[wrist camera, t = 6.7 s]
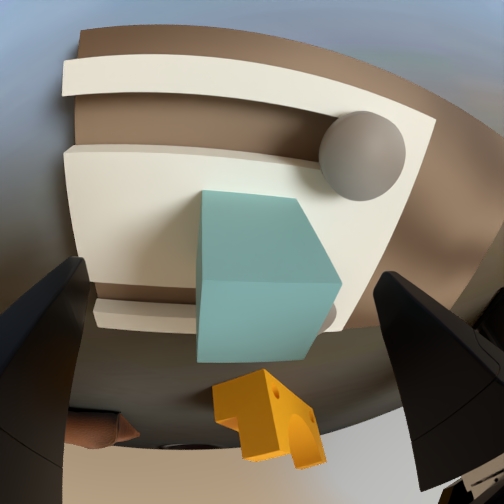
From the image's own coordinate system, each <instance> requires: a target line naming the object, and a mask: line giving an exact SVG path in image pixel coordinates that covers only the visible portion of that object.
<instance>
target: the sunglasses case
mask: <svg viewBox="0 0 504 504" xmlns="http://www.w3.org/2000/svg"><path fill="white" fill-rule="evenodd" d="M120 413H121V412H119V413H117V415H116V414H114V413H99V412H78V413H76V412H73V411H68V414H67V422H66V431H65V441H64V443H69V444H74V445H78V446H82V447H85V448H88V449H99V448H104V447H108V446H112V445H114V443H115V442H121V441H126V440H129V439H132V438H136V437H138V436H140V433H139V432H137V431H136V430H135V429H134V428H133V427H132V425H130V423H129V422H128V421H127V420H126V419H125V418H124V417H123V416H122V415H121V414H120Z"/></svg>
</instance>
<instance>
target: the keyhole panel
mask: <svg viewBox="0 0 504 504" xmlns="http://www.w3.org/2000/svg"><path fill="white" fill-rule="evenodd" d="M114 92H166V93H187V94H201V95H212V96H222V97H231V98H239V99H247V100H254V101H260V102H267V103H273V104H278V105H284V106H289V107H294V108H299V109H304V110H309V111H313V112H318V113H322V114H326V115H330V116H334V117H338V118H340V117H342V116H343V115H345V114H348V113H351V112H355V111H369V112H373V113H375V114H378V115H380V116H382V117H384V118H386V119H388V120H390V121H391V122H392V123H393V124H395V126H396V127H397V128H398V129H399V131H400V132H401V134H402V136H403V139H404V142H405V148H406V157H405V163H404V167H403V170H402V172H401V174H400V176H399V178H398V180H397V181H396V182H395V184H394V185H393V186H392V187H391V188H390V189H389V190H388V191H387V192H385V193H384V194H382V195H381V196H379V197H377V198H375V199H372V200H368V201H352V200H348V199H346V198H344V197H342V196H340V195H339V194H338V193H336V191H335V190H334V189H333V188H332V187H331V186H330V185H329V184H328V182H327V181H326V180H325V178H324V176H323V175H322V172H321V169H320V165H319V162H313V161H307V160H301V159H295V158H288V157H282V156H275V155H267V154H259V153H251V152H243V151H233V150H223V149H212V148H200V147H185V146H167V145H137V144H95V145H73V146H72V147H70V148H69V149H68V150H67V151H65V152H64V153H63V154H64V167H65V177H66V186H67V194H68V202H69V208H70V215H71V221H72V227H73V232H74V238H75V243H76V247H77V252H78V257H83V258H84V259H85V262H86V267H87V271H88V275H89V280H90V282H101V283H114V284H129V285H144V286H161V287H181V288H196V305H191V304H169V303H151V302H136V301H122V300H109V299H98V298H97V299H96V303H95V306H94V309H93V313H94V317H95V320H96V323H97V326H98V327H101V328H111V329H122V330H134V331H148V332H165V333H187V334H196V344H197V362H205V363H237V362H270V361H289V360H303V359H304V358H305V356H306V354H307V352H308V350H309V349H310V347H311V345H312V343H313V341H314V339H315V338H316V336H317V334H318V332H319V330H320V328H321V326H322V324H323V322H324V320H325V318H326V317H327V315H328V313H329V311H330V309H331V307H332V305H333V303H334V305H335V307H336V310H337V315H336V318H335V320H334V322H333V323H332V324H331V326H330V327H329V328H328V329H326V330H325V331H324V332H333V331H342V329H343V327H344V326H345V324H346V322H347V321H348V319H349V317H350V315H351V314H352V312H353V310H354V308H355V307H356V305H357V303H358V301H359V299H360V298H361V296H362V294H363V292H364V290H365V288H366V286H367V285H368V283H369V281H370V279H371V277H372V275H373V273H374V271H375V269H376V267H377V265H378V263H379V261H380V259H381V257H382V255H383V253H384V251H385V249H386V247H387V245H388V243H389V241H390V238H391V236H392V234H393V232H394V230H395V227H396V225H397V223H398V221H399V219H400V216H401V214H402V212H403V209H404V207H405V205H406V202H407V200H408V197H409V195H410V192H411V190H412V187H413V185H414V182H415V180H416V177H417V175H418V172H419V169H420V166H421V164H422V161H423V158H424V155H425V153H426V150H427V147H428V144H429V141H430V138H431V135H432V132H433V129H434V125H435V122H436V119H434V118H432V117H430V116H428V115H425V114H423V113H421V112H419V111H417V110H414V109H412V108H410V107H407V106H405V105H403V104H400V103H398V102H395V101H393V100H390V99H388V98H385V97H382V96H380V95H377V94H374V93H371V92H369V91H366V90H363V89H360V88H357V87H354V86H351V85H348V84H344V83H341V82H338V81H334V80H331V79H327V78H324V77H320V76H316V75H312V74H308V73H304V72H300V71H295V70H291V69H286V68H281V67H276V66H271V65H266V64H260V63H254V62H247V61H241V60H233V59H225V58H216V57H205V56H191V55H169V54H135V55H113V56H100V57H89V58H81V59H73V60H66V61H64V67H63V84H62V96H70V95H81V94H94V93H114Z"/></svg>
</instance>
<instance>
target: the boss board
mask: <svg viewBox="0 0 504 504" xmlns="http://www.w3.org/2000/svg"><path fill="white" fill-rule="evenodd" d="M135 54H169V55H191V56H205V57H216V58H225V59H233V60H241V61H247V62H254V63H260V64H266V65H271V66H276V67H281V68H286V69H291V70H295V71H300V72H304V73H308V74H312V75H316V76H320V77H324V78H327V79H331V80H334V81H338V82H341V83H344V84H348V85H351V86H354V87H357V88H360V89H363V90H366V91H369V92H371V93H374V94H377V95H380V96H382V97H385V98H388V99H390V100H393V101H395V102H398V103H400V104H403V105H405V106H407V107H410V108H412V109H414V110H417V111H419V112H421V113H423V114H425V115H428V116H430V117H432V118H434V119H436V122H435V125H434V129H433V132H432V135H431V138H430V141H429V144H428V147H427V150H426V153H425V155H424V158H423V161H422V164H421V166H420V169H419V172H418V175H417V177H416V180H415V182H414V185H413V187H412V190H411V192H410V195H409V197H408V200H407V202H406V205H405V207H404V209H403V212H402V214H401V216H400V219H399V221H398V223H397V225H396V227H395V230H394V232H393V234H392V236H391V238H390V241H389V243H388V245H387V247H386V249H385V251H384V253H383V255H382V257H381V259H380V261H379V263H378V265H377V267H376V269H375V271H374V273H373V275H372V277H371V279H370V281H369V283H368V285H367V286H366V288H365V290H364V292H363V294H362V296H361V298H360V299H359V301H358V303H357V305H356V307H355V308H354V310H353V312H352V314H351V315H350V317H349V319H348V321H347V322H346V324H345V326H344V327H343V329H347V328H360V327H372V326H380V323H379V319H378V315H377V310H376V306H375V302H374V298H373V289H374V287H375V285H376V284H377V282H378V280H379V278H380V276H381V274H382V273H383V272H384V271H395V272H397V273H399V274H400V275H401V276H403V277H404V278H406V279H407V280H409V281H410V282H411V283H413V284H414V285H416V286H417V287H418V288H420V289H421V290H423V291H424V292H425V293H427V294H428V295H429V296H431V297H432V298H434V299H435V300H436V301H438V302H439V303H440V304H442V305H443V306H444V307H446V308H447V309H448V310H450V309H451V307H452V306H453V304H454V303H455V302H456V300H457V299H458V297H459V296H460V294H461V293H462V291H463V290H464V288H465V287H466V285H467V284H468V282H469V281H470V279H471V278H472V276H473V275H474V273H475V271H476V270H477V268H478V267H479V265H480V263H481V262H482V260H483V258H484V257H485V255H486V253H487V251H488V250H489V248H490V246H491V244H492V242H493V241H494V239H495V237H496V235H497V233H498V231H499V229H500V227H501V225H502V223H503V221H504V138H503V137H502V136H500V135H499V134H498V133H496V132H495V131H494V130H492V129H491V128H489V127H488V126H486V125H485V124H484V123H482V122H481V121H479V120H478V119H476V118H475V117H473V116H471V115H470V114H468V113H467V112H465V111H464V110H462V109H460V108H459V107H457V106H455V105H454V104H452V103H450V102H448V101H447V100H445V99H443V98H441V97H440V96H438V95H436V94H434V93H432V92H430V91H428V90H426V89H424V88H422V87H420V86H418V85H416V84H414V83H412V82H410V81H408V80H406V79H404V78H402V77H399V76H397V75H395V74H393V73H390V72H388V71H386V70H383V69H381V68H378V67H376V66H373V65H371V64H368V63H366V62H363V61H360V60H357V59H355V58H352V57H349V56H346V55H343V54H340V53H337V52H334V51H330V50H327V49H324V48H320V47H317V46H313V45H309V44H306V43H302V42H298V41H294V40H289V39H285V38H280V37H276V36H271V35H265V34H260V33H254V32H248V31H241V30H234V29H226V28H217V27H206V26H191V25H128V26H114V27H104V28H95V29H87V30H81V32H80V39H79V48H78V57H77V59H81V58H89V57H100V56H113V55H135ZM95 144H137V145H167V146H185V147H200V148H212V149H223V150H233V151H243V152H251V153H259V154H267V155H275V156H282V157H288V158H295V159H301V160H307V161H313V162H319V165H320V169H321V172H322V175H323V176H324V178H325V180H326V181H327V182H328V184H329V185H330V186H331V187H332V188H333V189H334V190H335V191H336V193H338V194H339V195H340V196H342V197H344V198H346V199H348V200H352V201H368V200H372V199H375V198H377V197H379V196H381V195H382V194H384V193H385V192H387V191H388V190H389V189H390V188H391V187H392V186H393V185H394V184H395V182H396V181H397V180H398V178H399V176H400V174H401V172H402V170H403V167H404V163H405V157H406V148H405V142H404V139H403V136H402V134H401V132H400V131H399V129H398V128H397V127H396V126H395V124H393V123H392V122H391V121H390V120H388V119H386V118H384V117H382V116H380V115H378V114H375V113H373V112H369V111H355V112H351V113H348V114H345V115H343V116H342V117H340V118H338V117H334V116H330V115H326V114H322V113H318V112H313V111H309V110H304V109H299V108H294V107H289V106H284V105H278V104H273V103H267V102H260V101H254V100H247V99H239V98H231V97H222V96H212V95H201V94H187V93H166V92H114V93H94V94H81V95H75V145H95ZM94 283H95V287H96V291H97V295H98V299H109V300H122V301H136V302H151V303H169V304H191V305H196V288H181V287H161V286H144V285H129V284H114V283H101V282H94ZM336 315H337V310H336V307H335V305H334V303H333V305H332V307H331V309H330V311H329V313H328V315H327V317H326V318H325V320H324V322H323V324H322V326H321V328H320V330H319V332H318V334H317V335H319V334H321V333H322V332H324V331H325V330H326V329H328V328H329V327H330V326H331V324H332V323H333V322H334V320H335V318H336Z"/></svg>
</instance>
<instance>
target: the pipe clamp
mask: <svg viewBox="0 0 504 504" xmlns="http://www.w3.org/2000/svg"><path fill="white" fill-rule="evenodd" d="M212 390H213V402H214V413H215V422H217V423H219V424H221V425H224V426H226V427H229V428H231V429H233V430H236V431H238V432H239V436H240V443H241V450H242V457H243V459H246V460H251V461H255V462H257V461H261V460H266V459H270V458H274V457H278V456H282V455H286V454H290V453H291V455H292V458H293V461H294V465H295V468H296V469H305V468H308V467H312V466H315V465H319V464H322V463H325V462H327V461H326V457H325V453H324V449H323V446H322V442H321V438H320V434H319V431H318V427H317V423H316V420H315V416H314V412H313V409H312V408H311V407H309V406H308V405H307V404H306V403H304V402H303V401H302V400H301V399H299V398H298V397H297V396H296V395H295V394H293V393H292V392H291V391H290V390H288V389H287V388H286V387H285V386H284V385H282V384H281V383H280V382H279V381H278V380H277V379H275V378H274V377H273V376H272V375H271V374H269V373H268V372H267V371H266V370H265V369H261V370H258V371H255V372H253V373H250V374H247V375H244V376H241V377H238V378H236V379H233V380H230V381H227V382H224V383H220V384H217V385H214V386H212Z"/></svg>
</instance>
